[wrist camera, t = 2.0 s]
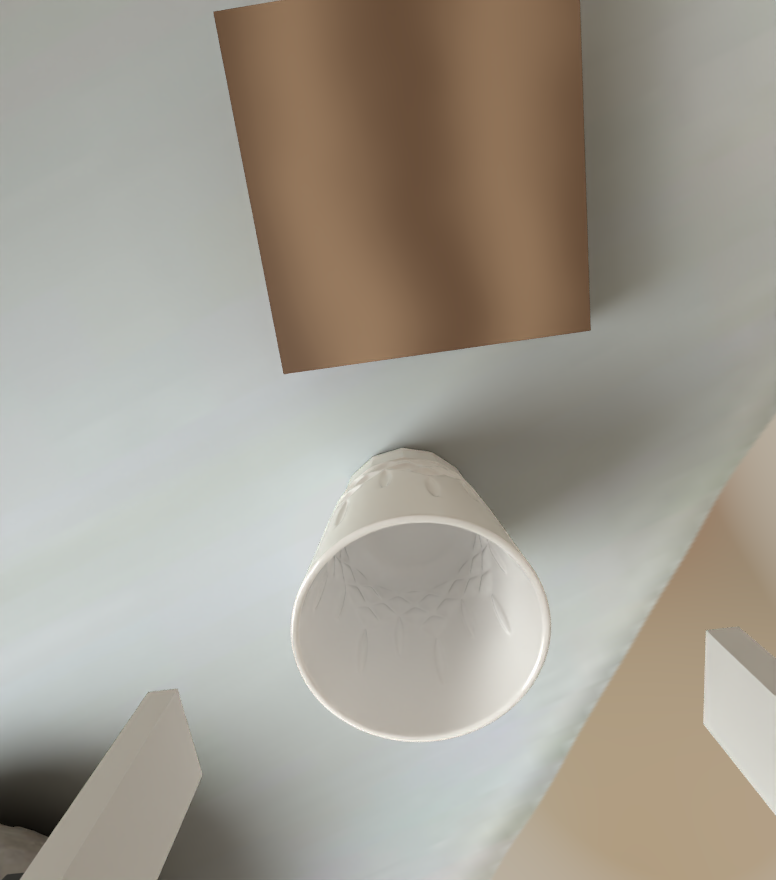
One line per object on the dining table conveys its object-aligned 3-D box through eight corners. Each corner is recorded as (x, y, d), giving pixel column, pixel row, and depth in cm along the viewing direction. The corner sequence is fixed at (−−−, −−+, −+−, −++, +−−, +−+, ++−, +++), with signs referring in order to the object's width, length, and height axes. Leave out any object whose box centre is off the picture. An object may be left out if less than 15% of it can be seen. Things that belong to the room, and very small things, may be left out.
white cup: (411, 403, 22) (431, 459, 12) (513, 513, 23) (604, 642, 14) (299, 506, 23) (235, 631, 13) (402, 604, 25) (412, 783, 15)
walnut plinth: (302, 366, 21) (283, 374, 18) (249, 78, 19) (213, 12, 15) (553, 330, 21) (590, 330, 17) (537, 31, 18) (578, -50, 14)
